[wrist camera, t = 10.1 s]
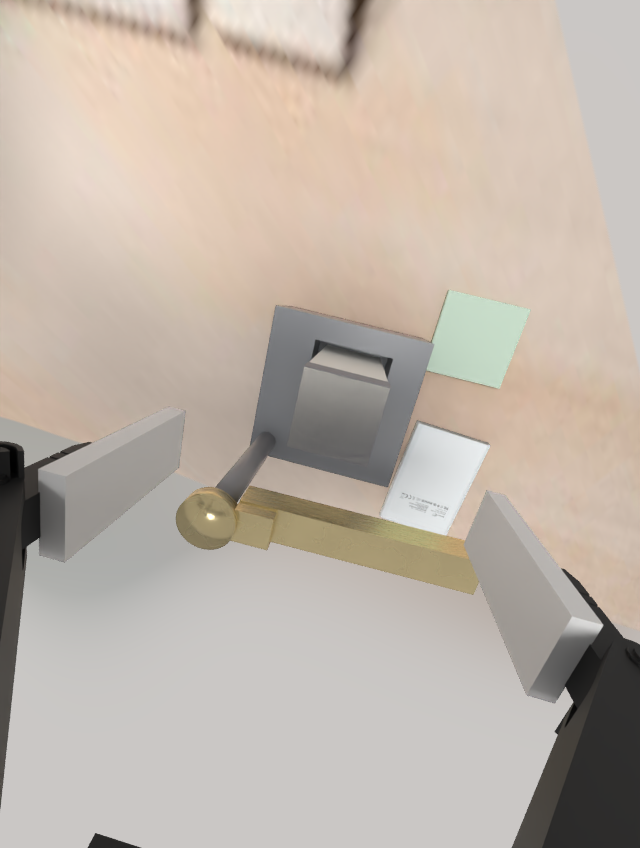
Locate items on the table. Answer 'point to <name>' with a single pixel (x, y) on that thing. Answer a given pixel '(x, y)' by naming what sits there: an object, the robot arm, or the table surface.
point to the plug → (339, 406)
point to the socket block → (287, 354)
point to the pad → (476, 338)
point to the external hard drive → (433, 478)
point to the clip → (324, 535)
